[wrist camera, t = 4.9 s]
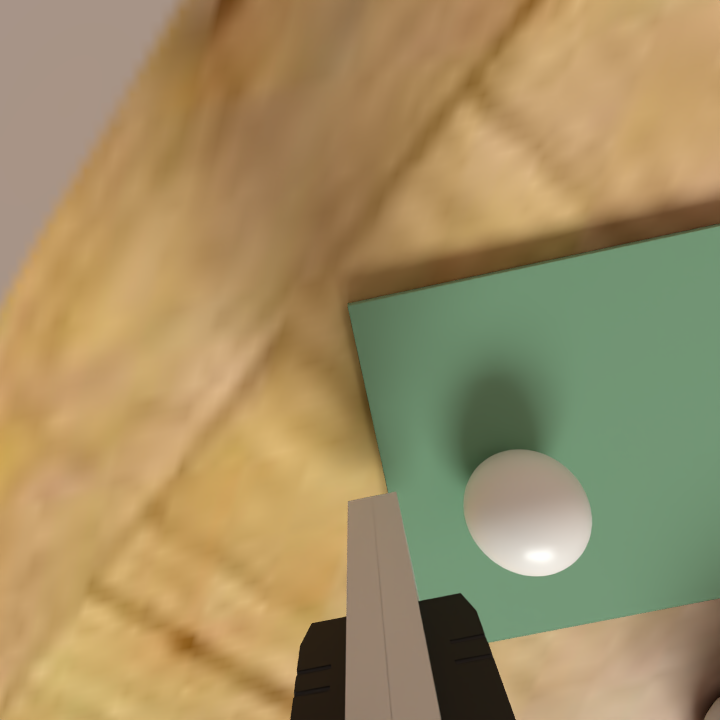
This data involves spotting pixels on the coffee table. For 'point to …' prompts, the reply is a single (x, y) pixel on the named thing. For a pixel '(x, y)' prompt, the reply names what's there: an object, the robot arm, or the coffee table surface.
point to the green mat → (559, 422)
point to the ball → (527, 512)
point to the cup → (714, 711)
